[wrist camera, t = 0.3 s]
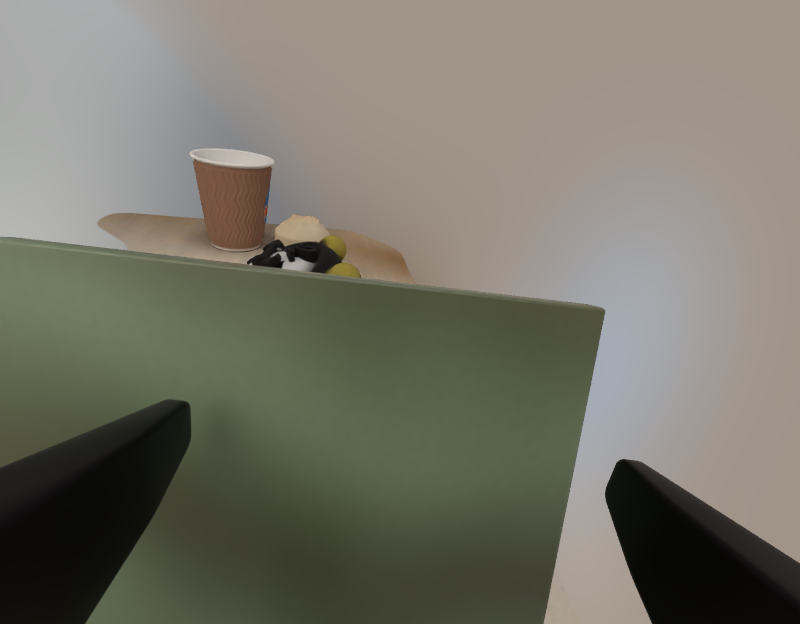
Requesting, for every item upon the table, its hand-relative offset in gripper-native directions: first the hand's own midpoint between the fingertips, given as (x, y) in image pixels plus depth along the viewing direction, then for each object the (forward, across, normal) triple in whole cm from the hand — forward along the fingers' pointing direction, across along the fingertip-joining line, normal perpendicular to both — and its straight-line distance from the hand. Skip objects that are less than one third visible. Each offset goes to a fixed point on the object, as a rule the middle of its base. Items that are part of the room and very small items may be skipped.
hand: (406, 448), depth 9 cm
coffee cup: (+52, +23, +9) cm, 58 cm away
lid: (+1, +2, +3) cm, 4 cm away
